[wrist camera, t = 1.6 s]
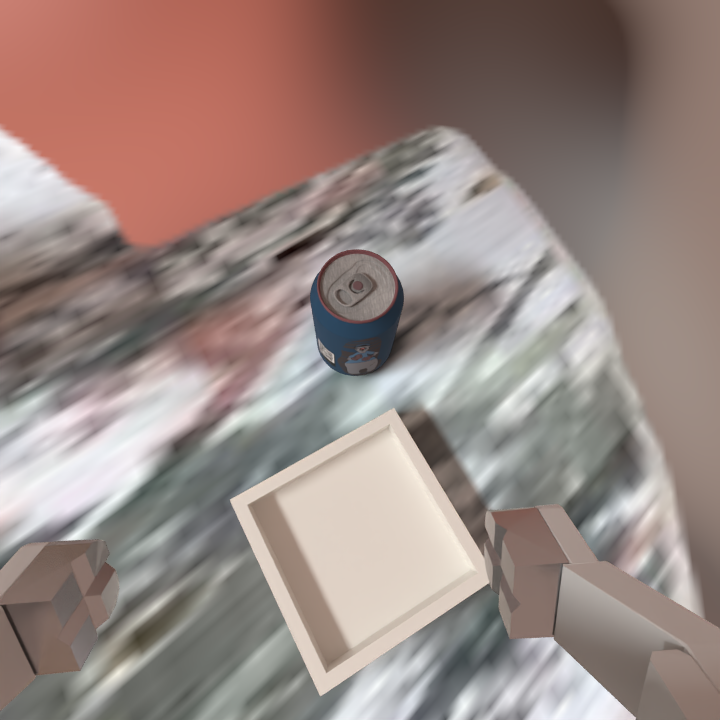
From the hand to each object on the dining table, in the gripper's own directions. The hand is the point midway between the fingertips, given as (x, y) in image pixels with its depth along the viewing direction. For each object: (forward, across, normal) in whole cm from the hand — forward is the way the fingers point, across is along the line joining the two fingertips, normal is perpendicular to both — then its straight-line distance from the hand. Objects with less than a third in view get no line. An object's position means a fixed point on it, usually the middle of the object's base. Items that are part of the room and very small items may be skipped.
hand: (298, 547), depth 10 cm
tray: (+22, 0, +20) cm, 30 cm away
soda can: (+34, -1, +7) cm, 34 cm away
